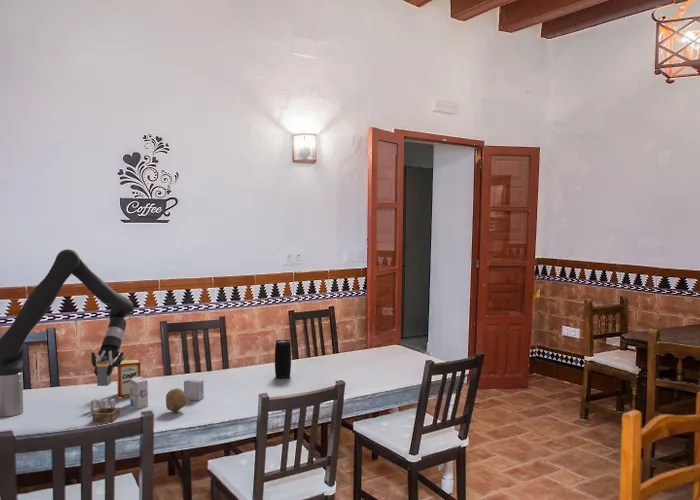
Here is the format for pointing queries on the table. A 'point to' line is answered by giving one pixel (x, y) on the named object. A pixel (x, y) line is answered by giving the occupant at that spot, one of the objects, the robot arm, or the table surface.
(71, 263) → the robot arm
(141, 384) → the ink box
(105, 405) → the clip
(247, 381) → the table surface
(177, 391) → the natural sponge
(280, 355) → the portable speaker
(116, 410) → the open wooden box
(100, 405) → the clip
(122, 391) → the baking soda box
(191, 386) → the medicine box
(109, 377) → the gray square bottle
